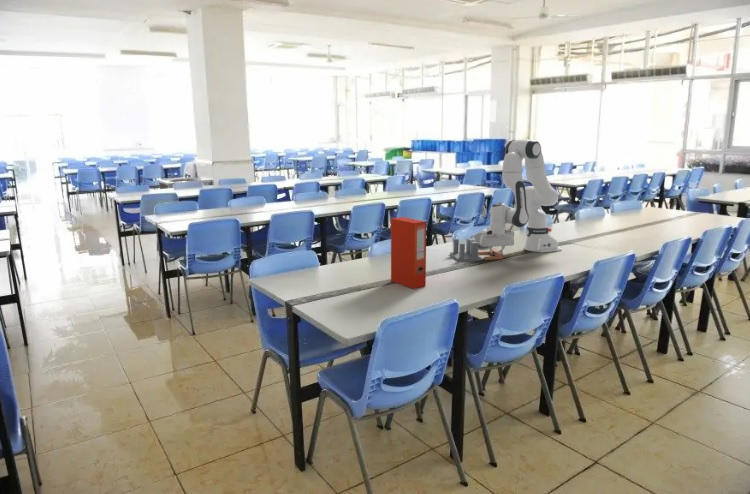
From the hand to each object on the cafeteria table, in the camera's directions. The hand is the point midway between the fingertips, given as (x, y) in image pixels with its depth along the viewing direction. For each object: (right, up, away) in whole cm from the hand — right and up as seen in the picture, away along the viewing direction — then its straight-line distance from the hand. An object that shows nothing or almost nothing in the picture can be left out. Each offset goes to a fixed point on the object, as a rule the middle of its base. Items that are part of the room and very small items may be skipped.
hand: (496, 253), depth 311 cm
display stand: (-19, -2, -2) cm, 19 cm away
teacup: (-4, +4, +29) cm, 29 cm away
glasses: (-4, -2, 0) cm, 4 cm away
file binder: (-56, -15, -52) cm, 78 cm away
